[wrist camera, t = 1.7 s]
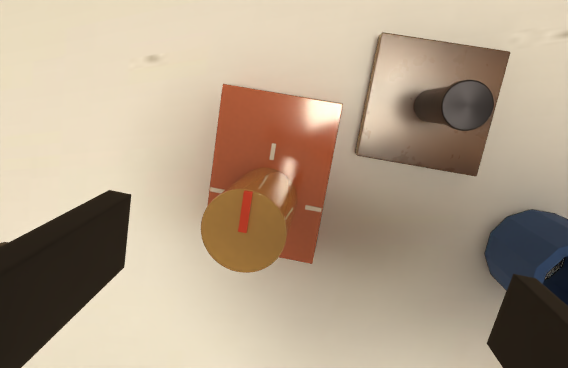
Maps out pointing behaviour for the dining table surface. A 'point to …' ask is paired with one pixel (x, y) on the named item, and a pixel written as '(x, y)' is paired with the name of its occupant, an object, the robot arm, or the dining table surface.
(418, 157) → the brown base with rod
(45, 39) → the dining table surface
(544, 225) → the sleeve
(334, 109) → the dial panel
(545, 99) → the dining table surface
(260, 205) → the tap handle
